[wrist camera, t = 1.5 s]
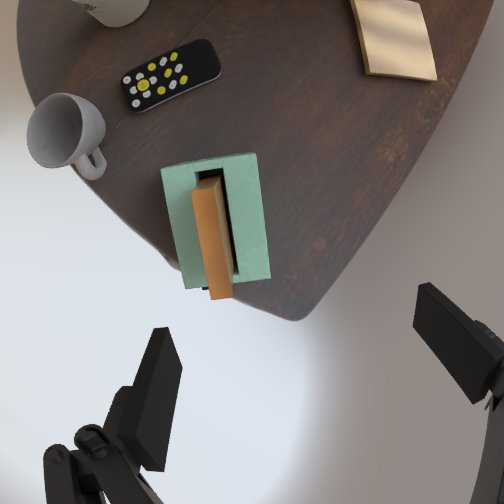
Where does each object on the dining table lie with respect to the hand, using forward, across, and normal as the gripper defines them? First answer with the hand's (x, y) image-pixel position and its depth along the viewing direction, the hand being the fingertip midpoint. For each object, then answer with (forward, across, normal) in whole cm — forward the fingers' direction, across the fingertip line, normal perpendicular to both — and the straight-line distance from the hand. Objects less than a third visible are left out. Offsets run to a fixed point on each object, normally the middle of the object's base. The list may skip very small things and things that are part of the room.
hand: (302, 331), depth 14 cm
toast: (+24, -5, +1) cm, 24 cm away
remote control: (+27, -9, +20) cm, 35 cm away
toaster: (+27, -5, +1) cm, 27 cm away
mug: (+27, -21, +14) cm, 37 cm away
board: (+27, +23, +24) cm, 43 cm away
